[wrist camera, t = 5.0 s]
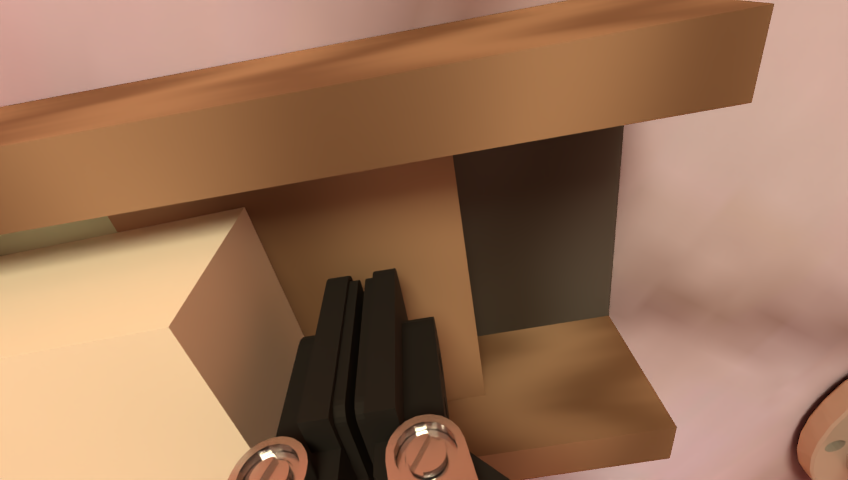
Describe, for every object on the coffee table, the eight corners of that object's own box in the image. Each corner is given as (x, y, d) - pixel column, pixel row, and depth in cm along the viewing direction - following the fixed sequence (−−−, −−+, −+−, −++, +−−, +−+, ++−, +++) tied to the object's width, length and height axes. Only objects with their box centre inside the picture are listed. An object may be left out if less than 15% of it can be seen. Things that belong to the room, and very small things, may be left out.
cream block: (244, 207, 10) (168, 326, 7) (334, 401, 14) (313, 543, 10) (-37, 263, 11) (-243, 403, 7) (123, 438, 14) (37, 586, 11)
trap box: (626, -11, 11) (774, 3, 7) (602, 337, 17) (669, 458, 13) (-404, 183, 12) (-840, 301, 8) (-72, 443, 18) (-213, 586, 14)
